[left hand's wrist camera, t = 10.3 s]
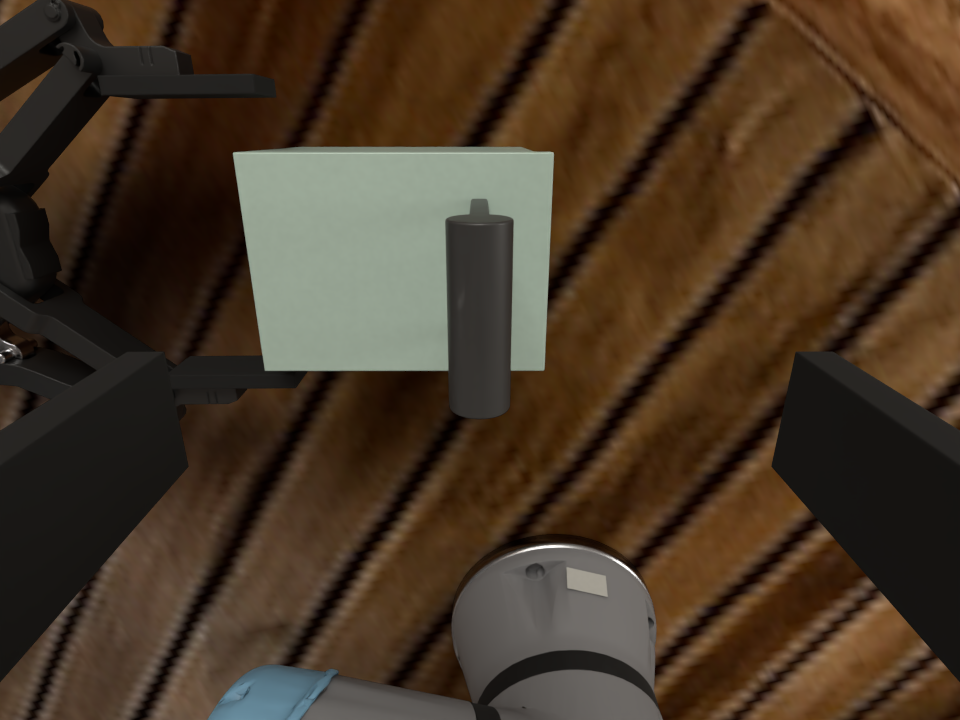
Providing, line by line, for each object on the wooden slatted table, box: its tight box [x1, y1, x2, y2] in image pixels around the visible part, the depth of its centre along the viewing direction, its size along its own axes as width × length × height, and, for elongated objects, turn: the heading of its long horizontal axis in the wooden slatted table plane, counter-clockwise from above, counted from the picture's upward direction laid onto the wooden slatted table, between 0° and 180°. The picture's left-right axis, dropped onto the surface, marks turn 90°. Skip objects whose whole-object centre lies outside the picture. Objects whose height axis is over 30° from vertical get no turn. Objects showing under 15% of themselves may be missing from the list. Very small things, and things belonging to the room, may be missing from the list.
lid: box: [233, 152, 554, 419], centre depth 22 cm, size 13×10×9 cm
